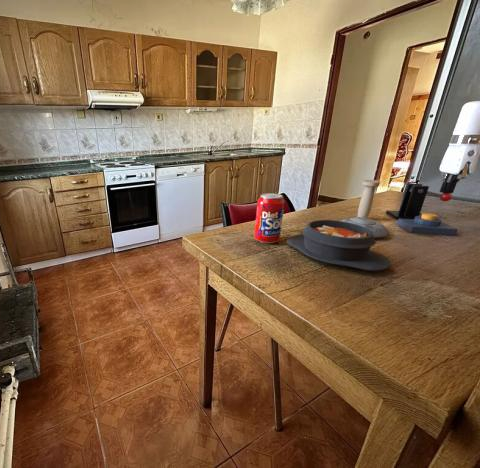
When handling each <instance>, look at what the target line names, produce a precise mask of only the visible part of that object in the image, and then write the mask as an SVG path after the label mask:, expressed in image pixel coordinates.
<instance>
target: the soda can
mask: <svg viewBox="0 0 480 468" xmlns="http://www.w3.org/2000/svg"><path fill="white" fill-rule="evenodd" d="M285 203H286V201H285V200H284V195H282V194H279V193H271V192H270V193H269V192H268V193H261V194H260V197H258V199H257V203H256V213H255V214H256V215H255V224H254V233H253V237H254V239H255V240H256V241H257V242H259V243H262V244H266V245H267V244H269V245H271V244H274V243H277V242H279V241H280V239H281V232H282V225H283V217H284V210H285Z"/></svg>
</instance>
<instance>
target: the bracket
mask: <svg viewBox="0 0 480 468" xmlns="http://www.w3.org/2000/svg"><path fill="white" fill-rule="evenodd" d="M413 185H414V186H413ZM412 186H413V188H412V191H411V192H410V191H409V190H410V189H411V187H412ZM429 188H430V186H429V185H423V184H422V183H406V186H405V190H404V193H403V196H402V200H401V203H400V206H399V209H398V210H386V211H385V214H386V215H388V216H389V217H392V218H393V219H395V220H397V221H398V220H399V219H415V217H416V216H422V214H423V213H422V212H421V211H422V209H423V206H424V203H425V200H426V197H427V195H428V194H427V191H429Z"/></svg>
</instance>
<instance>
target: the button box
mask: <svg viewBox="0 0 480 468" xmlns="http://www.w3.org/2000/svg"><path fill="white" fill-rule="evenodd" d="M396 224H397V225H398V226H399V227H401V228H402V229H404V230H406V231H407V232H409V233H413V234H425V235H426V234H428V235H429V234H430V235H441V236H442V235H445V236H456V235H457V233H458V231H459V229H458V228H456V227H454V226H452V225H450V224H447V223H445V222H444V221H443V220H442V219H441V218H438V217H436V220H425V219H421V216H416V217H415V219H399V220H397V223H396Z"/></svg>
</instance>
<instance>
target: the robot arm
mask: <svg viewBox="0 0 480 468" xmlns="http://www.w3.org/2000/svg"><path fill="white" fill-rule="evenodd" d="M448 145H449V146H447V149H446V151H445V153H444V156H443V158H442V159H441V162H440V165H439V171H440V175H441V176H442V184H441V186H440V189H439V193H440V194H443V193H450V194H453V193H454V191H455V189H456V186H457V184H458V183H459V182H460V180H464V179H466V178H467V176H471V175H473V174H474V173H475V170H476V168H477V166H478V165H477V164H478V162H479V158H480V100H475V101H468V102H466V103H465V104H463V106H462V107H461V110H460V112H459V116H458V118H457V120H456V124H455V126H454V129H453V132H452V135H451V137H450V140H449V143H448Z"/></svg>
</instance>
